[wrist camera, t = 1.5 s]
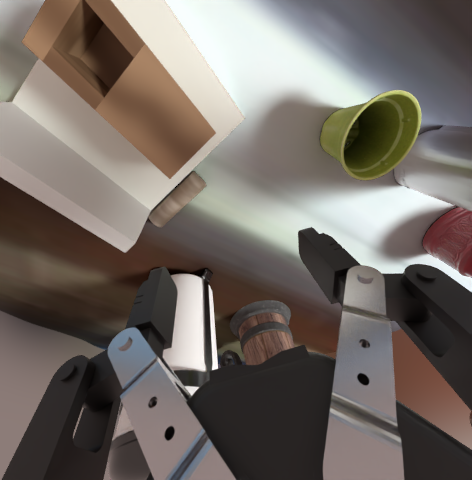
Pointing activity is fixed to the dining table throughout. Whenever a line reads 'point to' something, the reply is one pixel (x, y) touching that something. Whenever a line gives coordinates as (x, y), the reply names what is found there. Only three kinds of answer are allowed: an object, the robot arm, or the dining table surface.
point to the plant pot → (373, 134)
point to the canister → (452, 240)
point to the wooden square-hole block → (119, 79)
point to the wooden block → (177, 199)
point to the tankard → (260, 332)
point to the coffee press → (173, 367)
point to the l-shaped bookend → (105, 136)
